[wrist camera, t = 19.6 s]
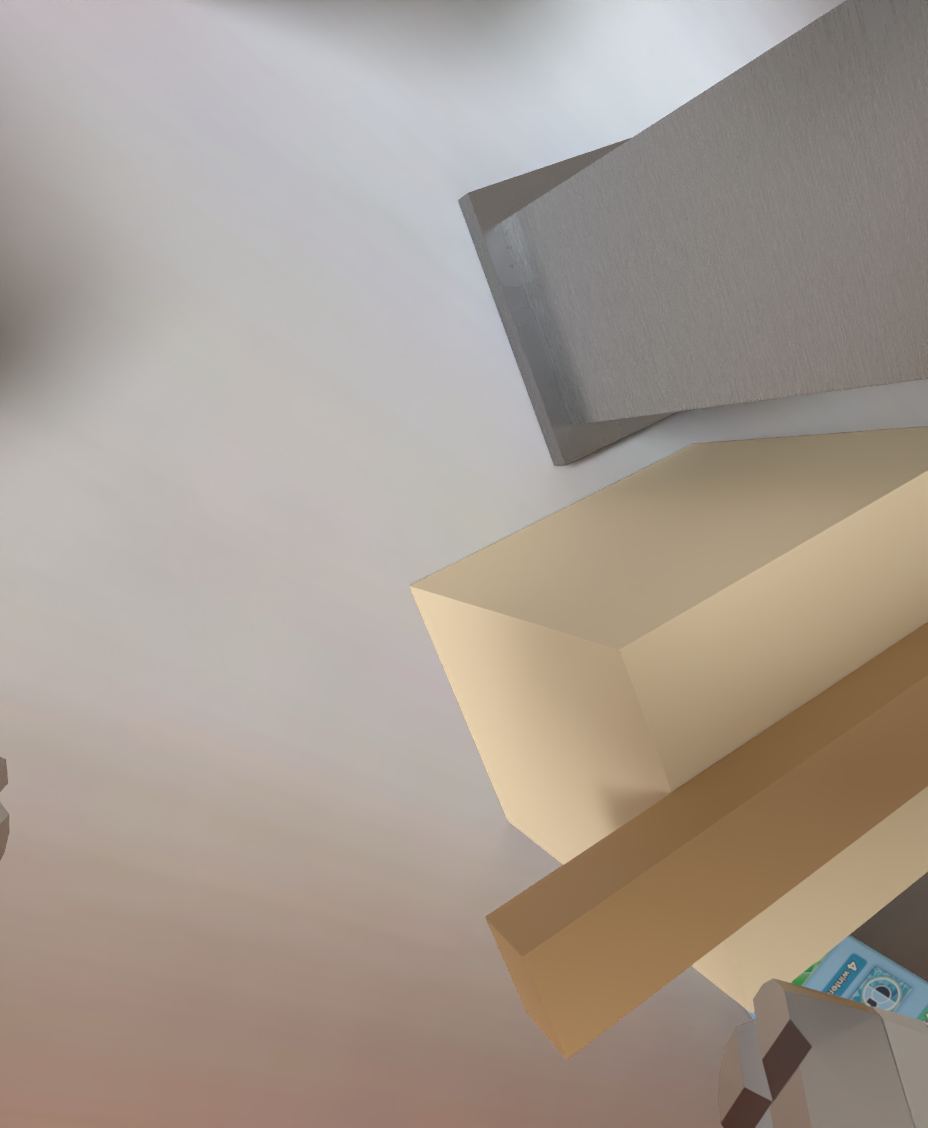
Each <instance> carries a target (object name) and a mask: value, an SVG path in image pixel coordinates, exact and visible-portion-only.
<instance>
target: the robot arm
mask: <svg viewBox="0 0 928 1128" xmlns="http://www.w3.org/2000/svg"><path fill="white" fill-rule="evenodd" d="M7 784H8V777H7V766H6V759H4V758H2V757H0V792H1V790H2V789H3V788H4V787H5V786H6V785H7ZM8 835H9V814H8V812H7V811H6V809H5V808H4V807H3V805H2V804H1V803H0V860H1V858H2V856H3V854H4V852H5V848H6V843H7V839H8ZM753 1003H754V1010H755V1017H756V1019H753V1020H751V1021H748V1022H746V1023H743V1024H741V1025H738V1026H736V1028H735V1030H734V1031H733V1033H732V1035H731V1037H730V1039H729V1040H728V1042H727V1044H726V1046H725V1049H724V1053H723V1058H722V1062H721V1067H720V1071H719V1085H718V1102H719V1112H720V1123H721V1125H722V1127H723V1128H928V1027H927V1026H926V1025H925V1023H924V1022H923V1021H922V1020H918V1019H915V1018H911V1017H908V1016H904V1015H901V1014H897V1013H894V1012H890V1011H887V1010H883V1009H880V1008H876V1007H873V1006H867V1005H866V1004H865V1003H861V1002H857V1001H854V1000H850V999H846V998H843V997H839V996H836V995H832V994H828V993H825V992H821V991H818V990H814V989H810V988H807V987H803V986H799V985H796V984H792V983H789V982H785V981H781V980H778V979H774V978H773V979H771V980H769V981H767V982H766V983H764V984H763V985H762V986H761V988H760V989H759V991H758V992H757V994H756V995H755V997H754V999H753Z"/></svg>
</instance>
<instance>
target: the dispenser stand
mask: <svg viewBox="0 0 928 1128" xmlns="http://www.w3.org/2000/svg"><path fill="white" fill-rule="evenodd" d="M458 201H459V204H460V207H461V209H462V212H463V215H464V218H465V220H466V223H467V226H468V229H469V231H470V234H471V237H472V240H473V243H474V245H475V248H476V251H477V254H478V256H479V259H480V262H481V265H482V267H483V270H484V273H485V276H486V278H487V281H488V284H489V287H490V289H491V292H492V295H493V298H494V300H495V303H496V306H497V309H498V311H499V314H500V317H501V320H502V322H503V325H504V328H505V331H506V333H507V336H508V339H509V342H510V345H511V347H512V350H513V353H514V356H515V358H516V361H517V364H518V367H519V369H520V372H521V375H522V378H523V380H524V383H525V386H526V389H527V391H528V394H529V397H530V400H531V402H532V405H533V408H534V411H535V413H536V416H537V419H538V422H539V424H540V427H541V430H542V433H543V435H544V438H545V441H546V444H547V447H548V449H549V452H550V455H551V458H552V460H553V463H554V466H563V465H567V464H570V463H572V462H574V461H576V460H578V459H580V458H582V457H584V456H586V455H588V454H590V453H592V452H595V451H597V450H599V449H601V448H603V447H605V446H607V445H609V444H611V443H613V442H615V441H617V440H620V439H622V438H624V437H626V436H628V435H630V434H632V433H634V432H636V431H638V430H640V429H642V428H645V427H647V426H649V425H651V424H653V423H655V422H657V421H659V420H661V419H663V418H665V417H667V416H670V415H672V414H674V413H676V412H678V411H684V410H692V409H699V408H707V407H715V406H722V405H730V404H738V403H745V402H753V401H761V400H768V399H776V398H784V397H791V396H799V395H807V394H814V393H822V392H830V391H837V390H845V389H853V388H860V387H868V386H876V385H883V384H891V383H899V382H906V381H914V380H922V379H928V0H846V1H844V2H843V3H841V4H840V5H838V6H837V7H835V8H833V9H832V10H830V11H829V12H827V13H826V14H824V15H823V16H821V17H819V18H818V19H816V20H815V21H813V22H812V23H810V24H809V25H807V26H805V27H804V28H802V29H801V30H799V31H798V32H796V33H795V34H793V35H791V36H790V37H788V38H787V39H785V40H784V41H782V42H781V43H779V44H777V45H776V46H774V47H773V48H771V49H770V50H768V51H767V52H765V53H763V54H762V55H760V56H759V57H757V58H756V59H754V60H753V61H751V62H749V63H748V64H746V65H745V66H743V67H742V68H740V69H739V70H737V71H735V72H734V73H732V74H731V75H729V76H728V77H726V78H725V79H723V80H721V81H720V82H718V83H717V84H715V85H714V86H712V87H711V88H709V89H707V90H706V91H704V92H703V93H701V94H700V95H698V96H697V97H695V98H693V99H692V100H690V101H689V102H687V103H686V104H684V105H683V106H681V107H679V108H678V109H676V110H675V111H673V112H672V113H670V114H669V115H667V116H665V117H664V118H662V119H661V120H659V121H658V122H656V123H655V124H653V125H651V126H650V127H648V128H647V129H645V130H644V131H642V132H641V133H639V134H637V135H636V136H634V137H633V138H630V139H627V140H624V141H621V142H618V143H615V144H612V145H609V146H606V147H603V148H600V149H597V150H594V151H591V152H588V153H585V154H582V155H579V156H576V157H573V158H570V159H567V160H564V161H561V162H558V163H555V164H552V165H549V166H546V167H544V168H541V169H538V170H535V171H532V172H529V173H526V174H523V175H520V176H517V177H514V178H511V179H508V180H505V181H502V182H499V183H496V184H493V185H490V186H487V187H484V188H481V189H478V190H475V191H472V192H469V193H467V194H466V195H465V196H463V197H462V198H461V199H459V200H458Z"/></svg>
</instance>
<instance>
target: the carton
mask: <svg viewBox="0 0 928 1128" xmlns="http://www.w3.org/2000/svg"><path fill="white" fill-rule="evenodd" d="M409 587H410V589H411V592H412V594H413V597H414V599H415V601H416V604H417V606H418V608H419V611H420V613H421V616H422V618H423V620H424V623H425V625H426V627H427V630H428V632H429V635H430V637H431V639H432V642H433V644H434V647H435V649H436V651H437V654H438V656H439V658H440V661H441V663H442V666H443V668H444V670H445V673H446V675H447V678H448V680H449V682H450V685H451V687H452V689H453V692H454V694H455V697H456V699H457V701H458V704H459V706H460V708H461V711H462V713H463V716H464V718H465V720H466V723H467V725H468V728H469V730H470V732H471V735H472V737H473V739H474V742H475V744H476V747H477V749H478V751H479V754H480V756H481V759H482V761H483V763H484V766H485V768H486V770H487V773H488V775H489V778H490V780H491V782H492V785H493V787H494V789H495V792H496V794H497V797H498V799H499V801H500V804H501V806H502V809H503V811H504V813H505V816H506V818H507V820H508V821H509V822H510V823H511V824H512V825H514V826H515V827H516V828H518V829H519V830H520V831H521V832H523V833H524V834H525V835H526V836H528V837H529V838H530V839H531V840H533V841H534V842H535V843H537V844H538V845H539V846H540V847H542V848H543V849H544V850H545V851H547V852H548V853H549V854H550V855H552V856H553V857H554V858H555V859H557V860H558V861H559V862H561V863H562V864H563V865H564V864H566V863H567V862H569V861H570V860H572V859H573V858H575V857H576V856H578V855H579V854H581V853H582V852H584V851H585V850H587V849H588V848H590V847H591V846H593V845H594V844H596V843H597V842H599V841H600V840H602V839H603V838H605V837H606V836H608V835H609V834H611V833H612V832H614V831H615V830H617V829H618V828H620V827H621V826H623V825H624V824H626V823H627V822H629V821H630V820H632V819H633V818H635V817H636V816H638V815H639V814H641V813H642V812H644V811H645V810H647V809H648V808H650V807H651V806H653V805H654V804H656V803H657V802H659V801H660V800H662V799H663V798H665V797H666V796H668V795H669V794H671V793H672V792H674V791H675V790H677V789H678V788H680V787H681V786H683V785H684V784H686V783H687V782H689V781H690V780H692V779H693V778H695V777H696V776H698V775H699V774H701V773H702V772H704V771H705V770H707V769H708V768H710V767H711V766H713V765H714V764H716V763H717V762H719V761H720V760H722V759H723V758H725V757H726V756H728V755H729V754H731V753H732V752H734V751H735V750H737V749H738V748H740V747H741V746H743V745H744V744H746V743H747V742H749V741H750V740H752V739H753V738H755V737H756V736H758V735H759V734H761V733H762V732H764V731H765V730H767V729H768V728H770V727H771V726H773V725H774V724H776V723H777V722H779V721H780V720H782V719H783V718H785V717H786V716H788V715H789V714H791V713H792V712H794V711H795V710H797V709H798V708H800V707H801V706H803V705H804V704H806V703H807V702H809V701H811V700H812V699H814V698H815V697H817V696H818V695H820V694H821V693H823V692H824V691H826V690H827V689H829V688H830V687H832V686H833V685H835V684H836V683H838V682H839V681H841V680H842V679H844V678H845V677H847V676H848V675H850V674H851V673H853V672H854V671H856V670H857V669H859V668H860V667H862V666H863V665H865V664H866V663H868V662H869V661H871V660H872V659H874V658H875V657H877V656H878V655H880V654H881V653H883V652H884V651H886V650H887V649H889V648H890V647H892V646H893V645H895V644H896V643H898V642H899V641H901V640H902V639H904V638H905V637H907V636H908V635H910V634H911V633H913V632H914V631H916V630H917V629H919V628H920V627H922V626H923V625H925V624H926V623H928V426H925V427H912V428H898V429H885V430H871V431H857V432H844V433H830V434H817V435H803V436H790V437H776V438H763V439H749V440H735V441H722V442H708V443H695V444H692V445H690V446H688V447H686V448H684V449H682V450H680V451H678V452H676V453H674V454H672V455H670V456H668V457H666V458H664V459H662V460H660V461H658V462H656V463H654V464H652V465H650V466H648V467H646V468H644V469H642V470H640V471H638V472H636V473H634V474H632V475H630V476H628V477H626V478H624V479H622V480H620V481H618V482H616V483H614V484H612V485H610V486H608V487H606V488H604V489H602V490H600V491H598V492H596V493H594V494H592V495H590V496H588V497H586V498H584V499H582V500H580V501H578V502H576V503H574V504H572V505H570V506H568V507H566V508H564V509H562V510H560V511H558V512H556V513H554V514H552V515H550V516H548V517H546V518H544V519H542V520H540V521H538V522H536V523H534V524H532V525H530V526H528V527H526V528H524V529H522V530H520V531H518V532H516V533H514V534H512V535H510V536H508V537H506V538H504V539H502V540H500V541H498V542H496V543H494V544H492V545H490V546H488V547H486V548H484V549H482V550H480V551H478V552H476V553H474V554H472V555H470V556H468V557H466V558H464V559H462V560H460V561H458V562H456V563H454V564H452V565H450V566H448V567H446V568H444V569H442V570H440V571H438V572H436V573H434V574H432V575H430V576H428V577H426V578H424V579H422V580H420V581H418V582H416V583H414V584H412V585H410V586H409ZM927 872H928V786H927V787H926V788H925V789H923V790H922V791H921V792H919V793H918V794H917V795H915V796H914V797H913V798H911V799H910V800H909V801H908V802H906V803H905V804H904V805H902V806H901V807H900V808H898V809H897V810H896V811H894V812H893V813H892V814H890V815H889V816H888V817H886V818H885V819H884V820H882V821H881V822H880V823H879V824H877V825H876V826H875V827H873V828H872V829H871V830H869V831H868V832H867V833H865V834H864V835H863V836H861V837H860V838H859V839H857V840H856V841H855V842H853V843H852V844H851V845H849V846H848V847H847V848H846V849H844V850H843V851H842V852H840V853H839V854H838V855H836V856H835V857H834V858H832V859H831V860H830V861H828V862H827V863H826V864H824V865H823V866H822V867H820V868H819V869H818V870H817V871H815V872H814V873H813V874H811V875H810V876H809V877H807V878H806V879H805V880H803V881H802V882H801V883H799V884H798V885H797V886H795V887H794V888H793V889H791V890H790V891H789V892H787V893H786V894H785V895H784V896H782V897H781V898H780V899H778V900H777V901H776V902H774V903H773V904H772V905H770V906H769V907H768V908H766V909H765V910H764V911H762V912H761V913H760V914H758V915H757V916H756V917H755V918H753V919H752V920H751V921H749V922H748V923H747V924H745V925H744V926H743V927H741V928H740V929H739V930H737V931H736V932H735V933H733V934H732V935H731V936H729V937H728V938H727V939H725V940H724V941H723V942H722V943H720V944H719V945H718V946H716V947H715V948H714V949H712V950H711V951H710V952H708V953H707V954H706V955H704V956H703V957H702V958H700V959H699V960H698V961H696V962H695V963H694V964H693V965H691V966H692V967H693V968H695V969H696V970H697V971H699V972H700V973H701V974H702V975H704V976H705V977H706V978H707V979H709V980H710V981H711V982H712V983H714V984H715V985H716V986H718V987H719V988H720V989H721V990H723V991H724V992H725V993H726V994H728V995H729V996H730V997H731V998H733V999H734V1000H735V1001H737V1002H738V1003H739V1004H740V1005H742V1006H743V1007H744V1008H745V1009H747V1010H748V1011H749V1012H750V1013H753V1012H755V1010H754V1003H753V999H754V997H755V995H756V994H757V992H758V991H759V989H760V988H761V986H762V985H763V984H764V983H766V982H767V981H769V980H771V979H773V978H774V979H778V980H781V981H785V982H789V983H791V982H792V981H793V980H794V979H795V978H797V977H798V976H799V975H800V974H802V973H803V972H804V971H805V970H807V969H808V968H809V967H810V966H812V965H813V964H814V963H815V962H817V961H818V960H819V959H820V958H821V957H823V956H824V955H825V954H826V953H828V952H829V951H830V950H831V949H833V948H834V947H835V946H836V945H838V944H839V943H840V942H841V941H842V940H844V939H845V938H846V937H847V936H849V935H850V934H851V933H852V932H854V931H855V930H856V929H857V928H859V927H860V926H861V925H862V924H864V923H865V922H866V921H867V920H868V919H870V918H871V917H872V916H873V915H875V914H876V913H877V912H878V911H880V910H881V909H882V908H883V907H885V906H886V905H887V904H888V903H889V902H891V901H892V900H893V899H894V898H896V897H897V896H898V895H899V894H901V893H902V892H903V891H904V890H906V889H907V888H908V887H909V886H911V885H912V884H913V883H914V882H915V881H917V880H918V879H919V878H920V877H922V876H923V875H924V874H925V873H927Z"/></svg>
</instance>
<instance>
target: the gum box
mask: <svg viewBox="0 0 928 1128" xmlns="http://www.w3.org/2000/svg"><path fill="white" fill-rule="evenodd" d="M791 983H792V984H796V985H799V986H803V987H807V988H810V989H814V990H818V991H821V992H825V993H828V994H832V995H836V996H839V997H843V998H846V999H850V1000H854V1001H857V1002H861V1003H865V1004H866V1005H867V1006H873V1007H876V1008H880V1009H883V1010H887V1011H890V1012H894V1013H897V1014H901V1015H904V1016H908V1017H911V1018H915V1019H918V1020H922V1021H923V1022H924V1023H925V1025H926V1026H927V1027H928V982H927V981H925V980H924V979H922V978H920V977H919V976H917V975H915V974H914V973H912V972H910V971H909V970H907V969H905V968H904V967H902V966H900V965H899V964H897V963H895V962H894V961H892V960H890V959H889V958H887V957H886V956H884V955H882V954H881V953H879V952H877V951H876V950H874V949H872V948H871V947H869V946H867V945H866V944H864V943H862V942H861V941H859V940H857V939H856V938H854V937H852V936H851V935H849V936H847V937H846V938H845V939H844V940H842V941H841V942H840V943H839V944H838V945H836V946H835V947H834V948H833V949H831V950H830V951H829V952H828V953H826V954H825V955H824V956H823V957H821V958H820V959H819V960H818V961H817V962H815V963H814V964H813V965H812V966H810V967H809V968H808V969H807V970H805V971H804V972H803V973H802V974H800V975H799V976H798V977H797V978H795V979H794V980H793V981H792V982H791ZM746 1010H747V1009H746ZM747 1012H748V1013H749V1014H750V1015H751V1017H752V1018H753V1019H756V1017H755V1012H753V1013H750V1012H749V1011H748V1010H747Z"/></svg>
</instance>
